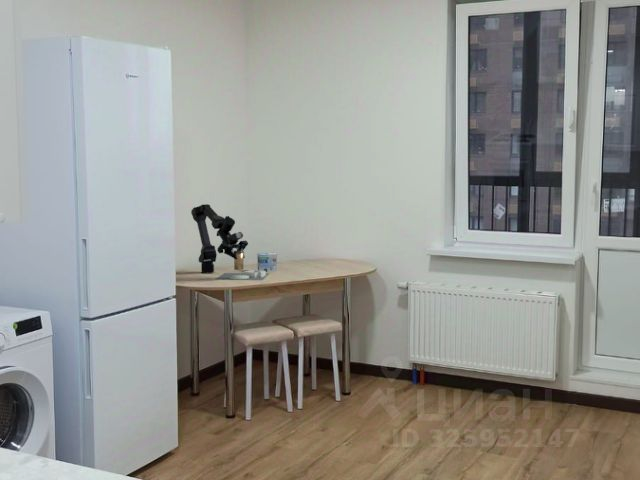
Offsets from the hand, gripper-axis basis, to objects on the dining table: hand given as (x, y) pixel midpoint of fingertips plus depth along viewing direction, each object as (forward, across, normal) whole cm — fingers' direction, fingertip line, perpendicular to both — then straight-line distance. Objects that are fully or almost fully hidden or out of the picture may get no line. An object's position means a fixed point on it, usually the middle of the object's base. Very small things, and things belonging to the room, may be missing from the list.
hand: (240, 258), depth 420 cm
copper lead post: (+3, 0, +5) cm, 6 cm away
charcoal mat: (+5, +6, +11) cm, 13 cm away
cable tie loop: (+8, +11, +8) cm, 16 cm away
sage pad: (+7, 0, +9) cm, 11 cm away
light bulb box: (+2, +29, +14) cm, 33 cm away
